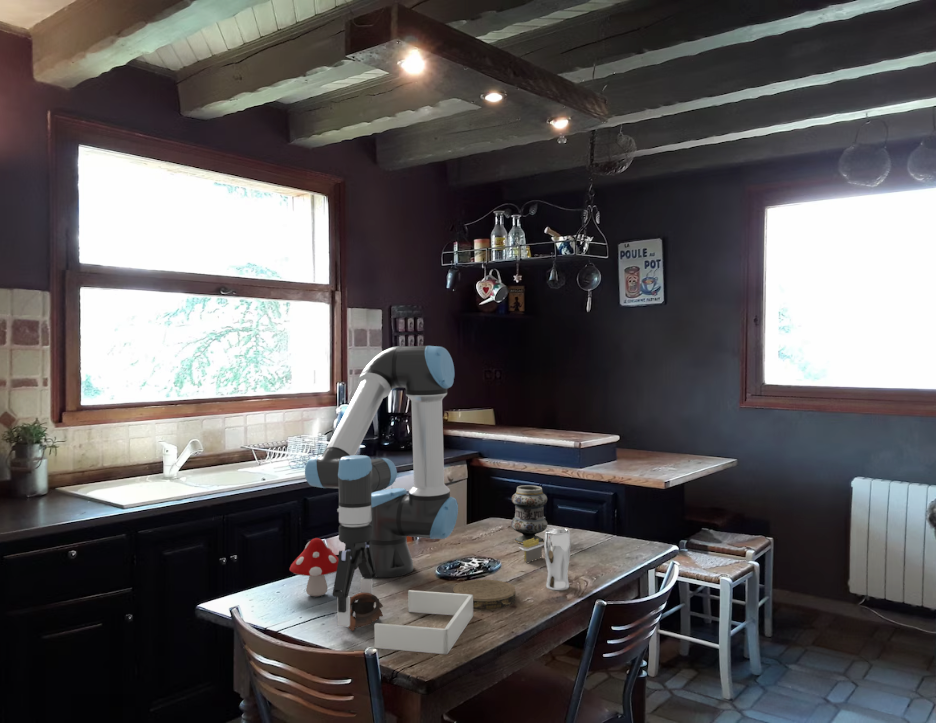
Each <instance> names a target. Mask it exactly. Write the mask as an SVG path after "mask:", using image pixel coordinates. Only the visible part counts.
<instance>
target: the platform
mask: <svg viewBox="0 0 936 723" xmlns="http://www.w3.org/2000/svg"><path fill="white" fill-rule="evenodd" d="M543 546H544V542H539V539H536V540H534V538H532V539H529V540H526V541H523V544H521V545H520V546H519V549H520V550H522V551H524V553H523V554H524V558H523V559H524V562H525V561H526V562H525V564H526V563H527V562H530V561H532V560H535V559H538V558H540V557H542V558H543V551H542V550H543ZM538 560H539V559H538ZM535 561H536V560H535ZM532 562H533V561H532ZM530 563H531V562H530ZM527 564H528V563H527Z"/></svg>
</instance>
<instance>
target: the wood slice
mask: <svg viewBox="0 0 936 723" xmlns="http://www.w3.org/2000/svg"><path fill="white" fill-rule="evenodd" d="M452 593H456V594H470V595H473V611H474V610H476V611H492V610H500V609H505V608H507V607H510V606H512V605H514V604H515V602H516V587H515V586H514V585H513V584H511V583H509V582H506V581H503V580H497V579H473V580H472V579H471V580H466V581H462V582H460V583H458V584H455V585H454V586H453V588H452Z"/></svg>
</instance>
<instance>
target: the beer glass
mask: <svg viewBox="0 0 936 723" xmlns="http://www.w3.org/2000/svg"><path fill="white" fill-rule="evenodd" d="M570 532H571V531H570V530H569V529H567V528H562V527H561V528H557V527H554V528H553V527H552V528H546V529H545V530H544V547H543V548H544V558H545V563H546V569H547V577H546V578H547V579H546V583H545V585H546V586H545V587H546V588H547V589H548V590H551V591H565V590H569V588H570V583H569V578H568V576H569V575H568V574H569V572H568V570H569V563H570V559H571V533H570Z"/></svg>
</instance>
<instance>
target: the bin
mask: <svg viewBox="0 0 936 723" xmlns="http://www.w3.org/2000/svg"><path fill="white" fill-rule="evenodd" d="M407 611H408V613H419V614H430V615H431V614H432V615H442V616H443V615H446V616H447V615H448V616H452V618H451V619H450V621H449V622H448V623H447V625H446V626H445V627H444V628H441V627H428V626H415V625H405V624H393V623H392V624H391V623H380V622H375V623H374V649H383V650H393V651H394V650H396V651H404V652H405V651H406V652H417V653H418V652H419V653H427V654H428V653H429V654H438V655H439V654H440V655H448V654H449V652H450V651H451V649H452V648H453V647H454V645H455V644H456V642H457V641H458V639H459V638H460V637H461V635H462V633H463V632H464V630H465V628H467V625H468V624H469V623H470V621H471V620H472V619H473V617H474V609H473V595H470V594H456V593H453V592H441V591H440V592H438V591H424V590H413V589H412V590H410V589H409V590H408V591H407Z"/></svg>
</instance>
